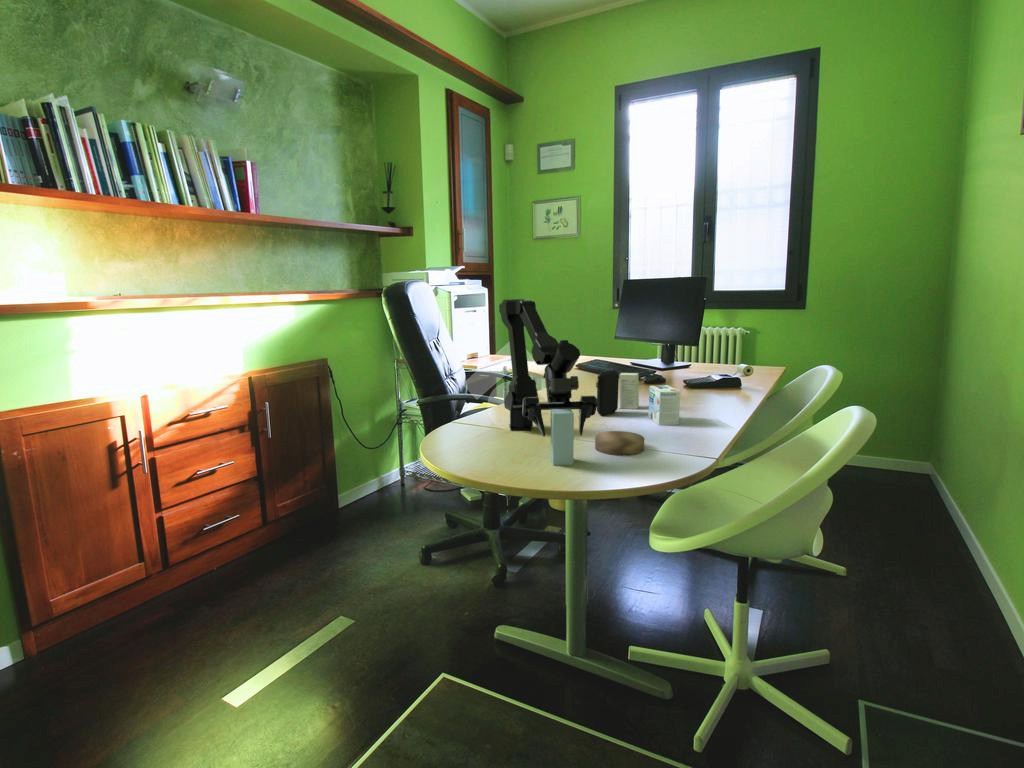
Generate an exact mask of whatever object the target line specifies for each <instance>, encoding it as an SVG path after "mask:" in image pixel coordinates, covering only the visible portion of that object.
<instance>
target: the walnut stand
mask: <svg viewBox="0 0 1024 768" xmlns="http://www.w3.org/2000/svg"><path fill="white" fill-rule="evenodd" d="M594 449H595V450H596V451H597V452H600V453H601V454H605V455H610V456H611V455H612V456H620V455H621V456H623V455H626V456H635V455H638V454H642V453H643V452H644V451H645V437H644V435H641V434H639V433H635V432H630V431H625V430H623V431H621V430H614V431H613V430H611V431H610V430H609V431H603V432H599V433H597V434H596V435H595V437H594ZM641 452H642V453H641ZM621 456H620V457H621Z"/></svg>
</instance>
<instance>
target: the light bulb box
mask: <svg viewBox="0 0 1024 768" xmlns="http://www.w3.org/2000/svg"><path fill="white" fill-rule="evenodd" d="M648 391H649V393H648V394H649V395H648V397H649V398H648V418H649V419H650V420H651V421H652V422H654V423H655V424H656V425H657V426H679V424H680V407H681V390H679V389H677V388H675V387H673V386H671V385H669V384H665V385H664V384H662V385H649V390H648Z"/></svg>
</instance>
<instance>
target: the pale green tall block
mask: <svg viewBox="0 0 1024 768" xmlns="http://www.w3.org/2000/svg"><path fill="white" fill-rule="evenodd" d="M574 421H575V415H574V411H573V410H571V409H551V410H550V461H551V464H552V466H568V465H569V466H570V465H571V466H573V465H574V447H575V446H574V445H575V444H574V443H575V441H574V440H575V439H574V432H575V429H574V427H575V426H574V425H575V423H574Z"/></svg>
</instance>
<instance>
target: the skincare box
mask: <svg viewBox="0 0 1024 768" xmlns="http://www.w3.org/2000/svg"><path fill="white" fill-rule="evenodd" d="M639 377H640V375H639V372H620V373H619V409H628V410H629V409H630V410H637V409H638V408H639V405H640V404H639V403H640V400H639V395H640V394H639V389H640V388H639V387H640V384H639V381H640V380H639V379H640V378H639Z"/></svg>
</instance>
